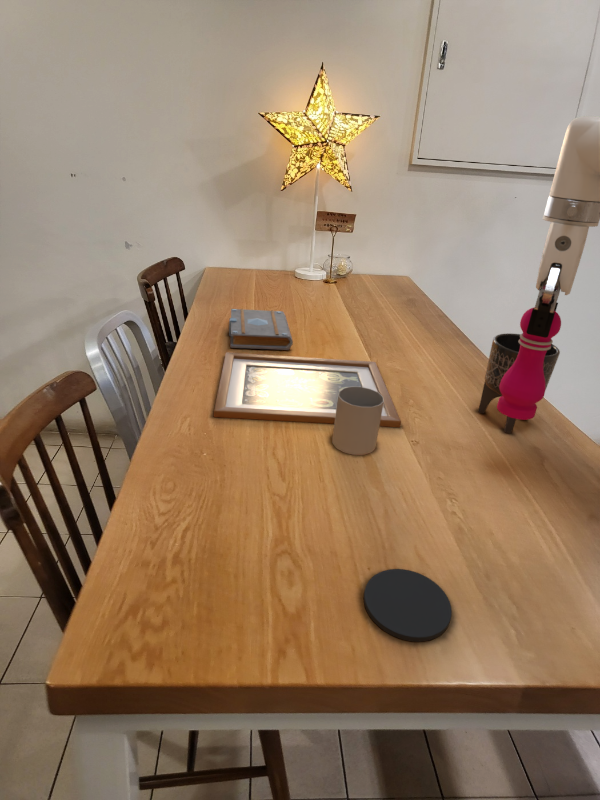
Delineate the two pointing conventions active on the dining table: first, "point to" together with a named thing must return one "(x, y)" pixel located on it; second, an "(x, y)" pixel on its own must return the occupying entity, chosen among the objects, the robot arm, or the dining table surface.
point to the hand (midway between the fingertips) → (539, 328)
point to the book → (259, 329)
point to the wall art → (294, 388)
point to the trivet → (407, 605)
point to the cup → (357, 420)
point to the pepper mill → (526, 373)
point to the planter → (501, 361)
